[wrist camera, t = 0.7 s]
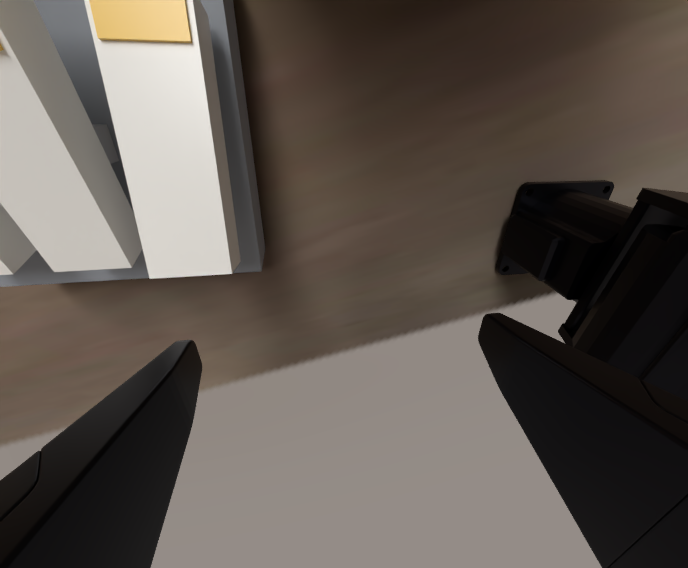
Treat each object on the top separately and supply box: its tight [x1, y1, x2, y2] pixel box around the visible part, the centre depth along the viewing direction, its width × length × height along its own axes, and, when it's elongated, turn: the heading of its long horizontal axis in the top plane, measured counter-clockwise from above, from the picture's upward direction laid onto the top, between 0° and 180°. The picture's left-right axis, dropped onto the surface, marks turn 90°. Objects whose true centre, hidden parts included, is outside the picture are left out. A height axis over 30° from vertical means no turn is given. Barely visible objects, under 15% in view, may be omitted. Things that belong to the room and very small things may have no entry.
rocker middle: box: [0, 0, 142, 272], centre depth 11 cm, size 3×9×2 cm, turn 179°
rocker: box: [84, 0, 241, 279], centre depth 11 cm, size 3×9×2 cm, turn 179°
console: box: [0, 0, 265, 287], centre depth 14 cm, size 13×13×4 cm
